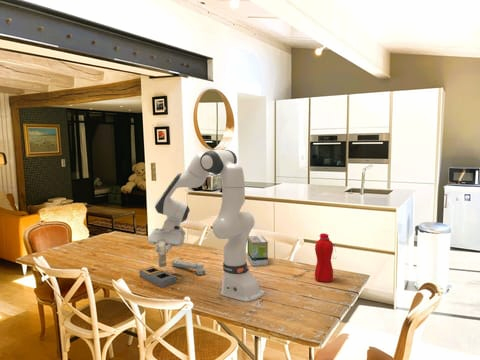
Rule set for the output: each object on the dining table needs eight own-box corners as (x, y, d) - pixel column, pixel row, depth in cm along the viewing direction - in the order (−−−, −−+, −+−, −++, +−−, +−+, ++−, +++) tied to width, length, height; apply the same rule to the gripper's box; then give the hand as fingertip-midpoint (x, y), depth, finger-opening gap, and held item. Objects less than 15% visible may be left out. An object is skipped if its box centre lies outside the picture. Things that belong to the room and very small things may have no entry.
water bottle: (335, 284, 189) (335, 237, 186) (313, 281, 193) (314, 235, 190) (336, 277, 197) (337, 232, 194) (316, 275, 201) (316, 231, 198)
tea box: (268, 265, 218) (268, 241, 217) (251, 266, 217) (251, 242, 215) (262, 257, 233) (262, 234, 231) (247, 258, 231) (246, 235, 230)
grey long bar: (177, 258, 222) (206, 261, 206) (178, 269, 222) (208, 272, 207) (170, 261, 218) (199, 263, 202) (172, 271, 218) (201, 275, 203)
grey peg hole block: (176, 282, 195) (176, 276, 194) (162, 287, 188) (161, 280, 188) (153, 271, 211) (153, 265, 210) (139, 276, 205) (139, 269, 204)
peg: (167, 265, 194) (166, 240, 193) (161, 267, 192) (160, 241, 190) (163, 264, 197) (162, 238, 196) (157, 266, 194) (156, 240, 193)
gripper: (151, 225, 202) (142, 247, 194) (183, 227, 195) (175, 250, 187) (156, 231, 207) (147, 253, 199) (188, 233, 200) (180, 256, 192)
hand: (161, 251), depth 193 cm, fingers closed on peg, 4 cm apart
